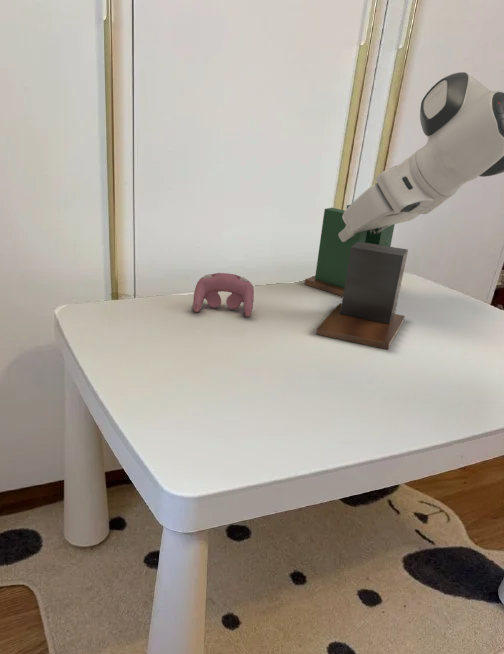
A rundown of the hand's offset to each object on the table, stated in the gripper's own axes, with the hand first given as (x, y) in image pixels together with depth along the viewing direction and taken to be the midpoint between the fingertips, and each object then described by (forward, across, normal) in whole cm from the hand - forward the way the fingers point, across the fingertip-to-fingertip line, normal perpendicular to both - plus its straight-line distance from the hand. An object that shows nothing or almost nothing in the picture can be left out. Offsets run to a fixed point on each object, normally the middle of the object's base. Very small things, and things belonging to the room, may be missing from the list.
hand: (357, 234), depth 110 cm
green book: (+9, -1, +5) cm, 10 cm away
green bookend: (+10, -5, +6) cm, 12 cm away
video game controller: (+14, +24, +2) cm, 28 cm away
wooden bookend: (0, +12, +15) cm, 20 cm away
